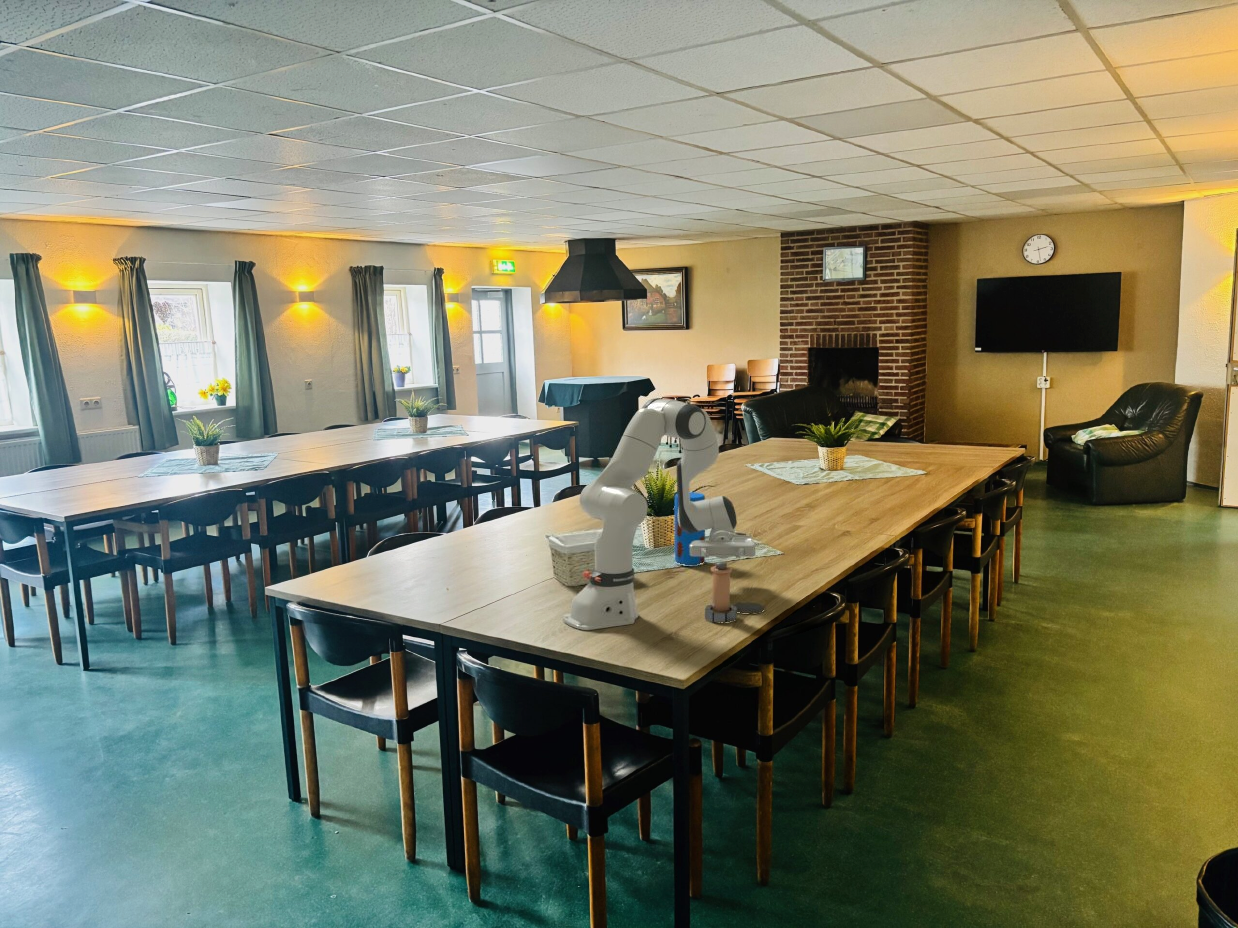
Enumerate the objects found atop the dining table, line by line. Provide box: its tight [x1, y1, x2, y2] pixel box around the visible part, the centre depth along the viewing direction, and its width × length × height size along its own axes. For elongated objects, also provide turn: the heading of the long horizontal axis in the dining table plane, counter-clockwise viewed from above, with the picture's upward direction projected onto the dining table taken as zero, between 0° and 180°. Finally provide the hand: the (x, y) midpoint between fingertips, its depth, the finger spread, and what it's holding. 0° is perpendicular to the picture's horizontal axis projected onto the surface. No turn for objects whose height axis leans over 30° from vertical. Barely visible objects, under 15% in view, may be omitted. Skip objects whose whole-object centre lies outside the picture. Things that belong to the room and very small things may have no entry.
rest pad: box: [731, 602, 766, 614], centre depth 264 cm, size 10×10×1 cm
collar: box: [704, 604, 738, 624], centre depth 255 cm, size 9×9×3 cm
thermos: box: [674, 492, 706, 565], centre depth 316 cm, size 11×11×25 cm
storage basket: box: [548, 529, 603, 587], centre depth 299 cm, size 24×16×15 cm
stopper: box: [710, 561, 733, 612], centre depth 254 cm, size 6×6×17 cm
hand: (722, 555), depth 265 cm, fingers open, 8 cm apart
